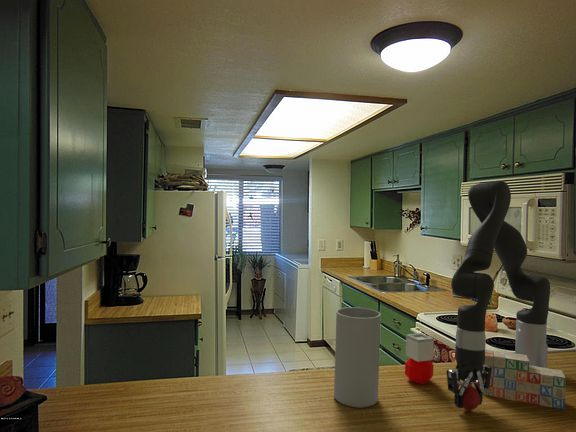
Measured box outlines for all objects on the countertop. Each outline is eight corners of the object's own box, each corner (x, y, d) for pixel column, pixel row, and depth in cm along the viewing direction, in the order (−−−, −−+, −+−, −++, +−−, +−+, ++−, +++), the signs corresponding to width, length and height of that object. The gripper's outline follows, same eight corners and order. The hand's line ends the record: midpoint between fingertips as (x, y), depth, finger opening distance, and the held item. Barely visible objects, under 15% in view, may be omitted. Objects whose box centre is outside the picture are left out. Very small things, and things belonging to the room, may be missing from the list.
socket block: (420, 353, 138) (421, 333, 138) (433, 359, 132) (433, 338, 132) (405, 355, 136) (406, 334, 136) (417, 361, 130) (418, 340, 130)
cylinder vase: (338, 386, 128) (340, 305, 128) (379, 393, 124) (382, 309, 124) (329, 404, 116) (332, 315, 116) (375, 412, 113) (378, 320, 112)
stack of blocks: (561, 401, 122) (562, 360, 122) (565, 410, 117) (566, 367, 116) (480, 386, 131) (482, 348, 131) (480, 394, 125) (482, 354, 125)
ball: (434, 379, 135) (435, 356, 135) (428, 388, 129) (429, 363, 129) (409, 374, 140) (410, 351, 140) (402, 382, 133) (403, 358, 133)
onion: (469, 418, 111) (470, 388, 111) (452, 408, 116) (453, 379, 116) (484, 413, 113) (485, 384, 113) (466, 404, 118) (467, 376, 118)
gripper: (479, 338, 120) (477, 396, 121) (439, 342, 115) (437, 403, 116) (501, 346, 113) (499, 407, 114) (459, 351, 108) (457, 415, 108)
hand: (468, 405), depth 115 cm, fingers closed on onion, 6 cm apart
